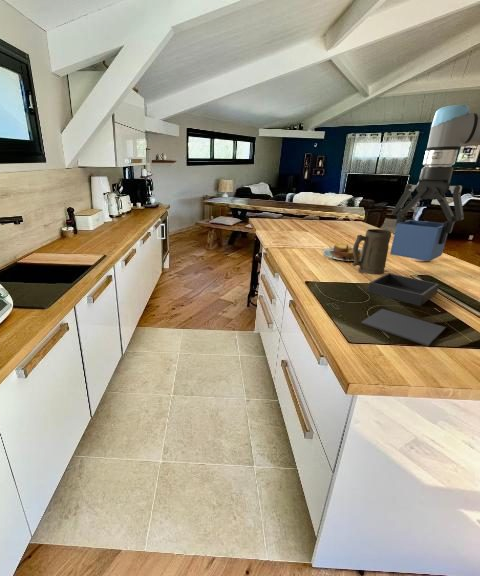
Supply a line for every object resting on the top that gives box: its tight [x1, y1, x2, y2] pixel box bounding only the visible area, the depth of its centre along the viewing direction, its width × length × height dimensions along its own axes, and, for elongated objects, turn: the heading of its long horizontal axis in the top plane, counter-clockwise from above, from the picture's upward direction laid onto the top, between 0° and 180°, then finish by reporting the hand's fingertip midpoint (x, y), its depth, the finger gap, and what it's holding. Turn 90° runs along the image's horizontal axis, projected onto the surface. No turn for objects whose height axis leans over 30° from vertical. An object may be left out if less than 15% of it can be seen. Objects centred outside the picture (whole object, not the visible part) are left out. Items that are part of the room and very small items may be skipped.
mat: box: [360, 307, 448, 347], centre depth 97 cm, size 18×18×1 cm
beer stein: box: [352, 228, 392, 275], centre depth 143 cm, size 15×11×20 cm
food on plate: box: [322, 243, 362, 262], centre depth 171 cm, size 25×25×7 cm
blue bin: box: [389, 219, 449, 262], centre depth 99 cm, size 11×11×10 cm
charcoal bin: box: [367, 272, 440, 307], centre depth 120 cm, size 18×18×5 cm
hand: (419, 240), depth 99 cm, fingers closed on blue bin, 11 cm apart
